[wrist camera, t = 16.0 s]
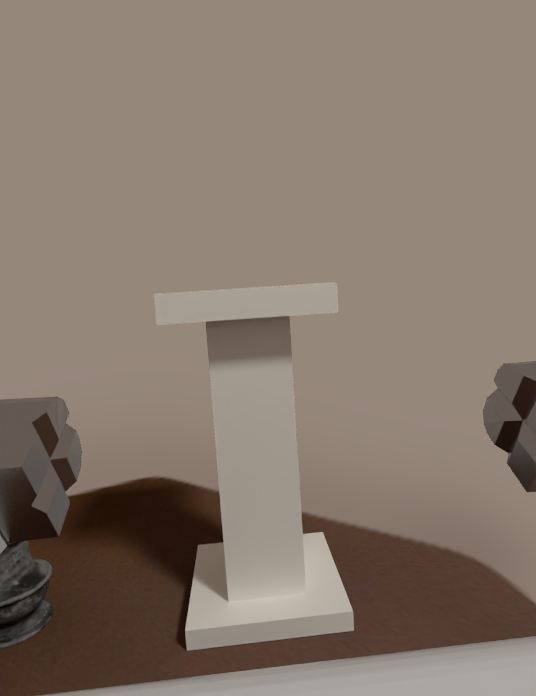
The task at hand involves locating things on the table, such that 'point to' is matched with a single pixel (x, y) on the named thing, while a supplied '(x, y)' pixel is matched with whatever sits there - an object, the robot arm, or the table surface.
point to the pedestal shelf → (257, 475)
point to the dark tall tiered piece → (22, 594)
